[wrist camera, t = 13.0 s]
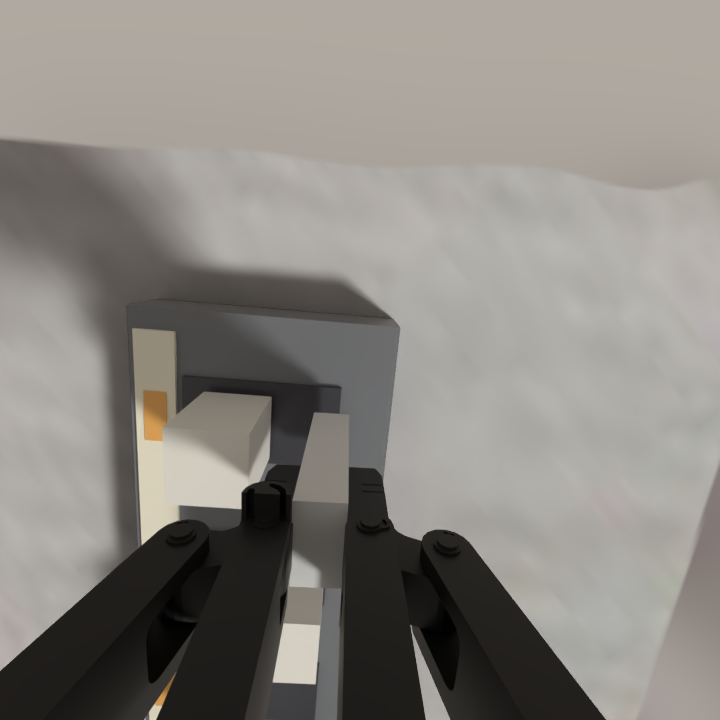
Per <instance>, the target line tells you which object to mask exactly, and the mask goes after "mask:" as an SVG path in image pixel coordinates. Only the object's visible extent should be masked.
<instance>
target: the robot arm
mask: <svg viewBox="0 0 720 720" xmlns="http://www.w3.org/2000/svg"><path fill="white" fill-rule="evenodd" d="M289 578H290V582H289ZM288 583H289V587H311V588H336V589H342V590H341V604H340V618H339V627H340V635H339V666H338V697H337V720H426V719H425V713H424V707H423V701H422V694H421V688H420V682H419V676H418V670H417V664H416V658H415V652H414V646H413V640H412V633H411V627H410V625H412V630H413V634H414V636H415V639H416V641H417V643H418V645H419V648H420V650H421V652H422V655H423V657H424V659H425V662H426V664H427V666H428V669H429V671H430V673H431V675H432V678H433V680H434V682H435V685H436V687H437V689H438V692H439V694H440V696H441V699H442V701H443V703H444V705H445V708H446V710H447V712H448V715H449V717H450V719H451V720H606V719H605V718H604V717H603V715H602V714H601V713H600V712H599V710H598V709H597V708H596V706H595V705H594V704H593V702H592V701H591V700H590V699H589V697H588V696H587V695H586V693H585V692H584V691H583V689H582V688H581V687H580V686H579V684H578V683H577V682H576V680H575V679H574V678H573V676H572V675H571V674H570V673H569V671H568V670H567V669H566V667H565V666H564V665H563V664H562V662H561V661H560V660H559V658H558V657H557V656H556V654H555V653H554V652H553V651H552V649H551V648H550V647H549V645H548V644H547V643H546V641H545V640H544V639H543V638H542V636H541V635H540V634H539V632H538V631H537V630H536V628H535V627H534V626H533V625H532V623H531V622H530V621H529V619H528V618H527V617H526V615H525V614H524V613H523V612H522V610H521V609H520V608H519V606H518V605H517V604H516V602H515V601H514V600H513V599H512V597H511V596H510V595H509V593H508V592H507V591H506V590H505V588H504V587H503V586H502V584H501V583H500V582H499V580H498V579H497V578H496V577H495V575H494V574H493V573H492V571H491V570H490V569H489V567H488V566H487V565H486V564H485V562H484V561H483V560H482V558H481V557H480V556H479V554H478V553H477V552H476V551H475V549H474V548H473V547H472V545H471V544H470V543H469V542H468V541H467V540H466V539H465V538H464V537H462V536H460V535H459V534H457V533H455V532H451V531H447V530H433V531H430V532H428V533H426V534H425V535H424V536H423V539H422V541H420V540H416V539H413V538H410V537H407V536H404V535H402V534H401V533H399V532H397V531H396V530H395V529H394V526H393V523H392V521H391V520H390V519H389V518H388V512H387V506H386V499H385V493H384V486H383V479H382V476H381V474H380V473H379V472H378V471H377V470H376V469H375V468H358V467H349V414H334V413H316V412H314V415H313V419H312V423H311V427H310V431H309V436H308V440H307V444H306V448H305V452H304V456H303V460H302V464H301V466H300V465H281V464H277V465H275V466H274V467H273V468H272V469H270V470H269V471H268V473H267V475H266V478H265V481H261V482H257V483H253V484H251V485H249V486H248V487H246V488H245V489H244V490H243V491H242V492H241V522H240V524H239V526H237V527H234V528H232V529H229V530H224V531H219V532H213V533H209V527H208V526H207V525H206V524H205V523H204V522H201V521H199V520H191V519H186V520H180V521H176V522H173V523H170V524H168V525H166V526H164V527H163V528H161V529H160V530H158V531H157V532H156V533H155V534H154V535H153V536H152V537H151V538H149V539H148V540H147V541H146V542H145V543H144V544H143V545H142V546H140V547H139V548H138V549H137V550H136V551H135V552H134V553H133V554H131V555H130V556H129V557H128V558H127V559H126V560H125V561H124V562H122V563H121V564H120V565H119V566H118V567H117V568H116V569H115V570H113V571H112V572H111V573H110V574H109V575H108V576H107V577H106V578H104V579H103V580H102V581H101V582H100V583H99V584H98V585H97V586H95V587H94V588H93V589H92V590H91V591H90V592H89V593H88V594H86V595H85V596H84V597H83V598H82V599H81V600H80V601H79V602H77V603H76V604H75V605H74V606H73V607H72V608H71V609H70V610H68V611H67V612H66V613H65V614H64V615H63V616H62V617H61V618H59V619H58V620H57V621H56V622H55V623H54V624H53V625H52V626H50V627H49V628H48V629H47V630H46V631H45V632H44V633H43V634H41V635H40V636H39V637H38V638H37V639H36V640H35V641H34V642H32V643H31V644H30V645H29V646H28V647H27V648H26V649H25V650H23V651H22V652H21V653H20V654H19V655H18V656H17V657H16V658H14V659H13V660H12V661H11V662H10V663H9V664H8V665H7V666H5V667H4V668H3V669H2V670H1V671H0V720H144V719H145V717H146V716H147V714H148V713H149V711H150V710H151V708H152V707H153V706H154V704H155V703H156V701H157V700H158V698H159V697H160V695H161V694H162V692H163V691H164V689H165V688H166V686H167V685H168V683H169V682H170V681H171V679H172V678H173V676H174V675H175V677H174V679H173V681H172V684H171V686H170V688H169V691H168V693H167V695H166V698H165V700H164V702H163V705H162V707H161V710H160V712H159V714H158V717H157V719H156V720H266V715H267V710H268V704H269V699H270V693H271V688H272V683H273V677H274V672H275V666H276V661H277V655H278V650H279V645H280V639H281V634H282V628H283V623H284V617H285V612H286V607H287V596H288ZM175 673H176V674H175Z"/></svg>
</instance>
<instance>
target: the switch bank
mask: <svg viewBox="0 0 720 720" xmlns="http://www.w3.org/2000/svg"><path fill="white" fill-rule="evenodd" d="M127 324H128V346H129V367H130V389H131V410H132V432H133V453H134V474H135V496H136V517H137V539H138V548H139V547H140V546H142V545H143V544H144V543H145V542H146V541H147V540H148V539H149V538H151V537H152V536H153V535H154V534H155V533H156V532H157V531H158V530H160V529H161V528H163V527H164V526H166V525H168V524H170V523H173V522H176V521H180V520H186V519H191V520H199V521H201V522H204V523H205V524H206V525H207V526H208V527H209V533H213V532H219V531H224V530H229V529H232V528H234V527H237V526H239V524H240V522H241V509H232V508H216V507H200V506H184V505H169V504H164V477H163V442H162V427H163V426H164V425H165V424H166V423H168V422H169V421H170V420H171V419H172V418H173V417H175V416H176V415H177V414H178V413H179V412H180V411H182V410H183V409H184V408H185V407H186V406H188V405H189V404H190V403H191V402H192V401H193V400H195V399H196V398H197V397H198V396H199V395H200V394H202V393H203V392H216V393H230V394H243V395H256V396H269V397H272V405H271V430H270V456H269V460H268V463H267V465H266V467H265V470H264V472H263V474H262V477H261V479H260V481H259V482H261V481H265V478H266V475H267V473H268V471H269V470H270V469H272V468H273V467H274V466H275V465H277V464H281V465H300V466H301V464H302V460H303V456H304V452H305V448H306V444H307V440H308V436H309V431H310V427H311V423H312V419H313V415H314V412H316V413H334V414H349V467H358V468H375V469H376V470H377V471H378V472H379V473H380V474H381V476H382V479H383V477H384V468H385V459H386V450H387V441H388V432H389V423H390V414H391V405H392V397H393V388H394V379H395V370H396V361H397V352H398V343H399V334H400V327H399V325H398V324H397V323H396V322H395V321H394V319H388V318H376V317H365V316H353V315H341V314H329V313H318V312H306V311H294V310H282V309H271V308H259V307H247V306H235V305H224V304H212V303H200V302H188V301H177V300H165V299H156V300H150V301H144V302H139V303H133V304H127ZM341 590H342V589H336V588H323V600H322V613H321V625H320V637H319V649H318V661H317V673H316V684H297V683H275V682H273V683H272V688H271V693H270V699H269V704H268V710H267V715H266V720H337V697H338V666H339V635H340V627H339V618H340V604H341ZM175 674H176V673H175ZM174 677H175V675H174V676H173V678H172V679H171V681H170V682H169V683H168V685H167V686H166V688H165V689H164V691H163V692H162V694H161V695H160V697H159V698H158V700H157V701H156V703H155V704H154V706H153V707H152V708H151V710H150V711H149V713H148V714H147V716H146V720H156V719H157V717H158V714H159V712H160V710H161V707H162V705H163V702H164V700H165V698H166V695H167V693H168V691H169V688H170V686H171V684H172V681H173V679H174Z"/></svg>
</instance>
